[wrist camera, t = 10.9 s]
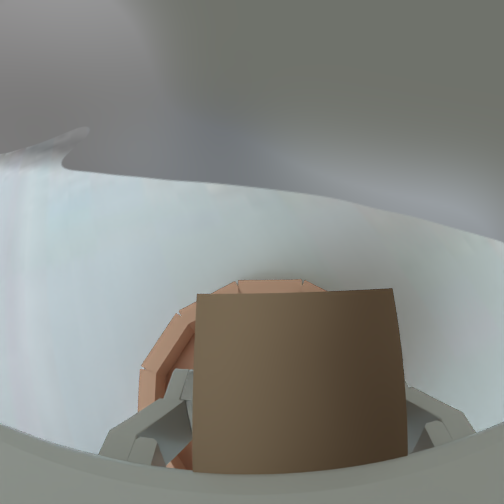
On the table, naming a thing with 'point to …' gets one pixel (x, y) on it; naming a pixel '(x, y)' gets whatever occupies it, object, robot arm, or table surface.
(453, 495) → the robot arm
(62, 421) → the table surface
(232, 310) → the walnut block
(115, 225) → the table surface
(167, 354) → the dish
